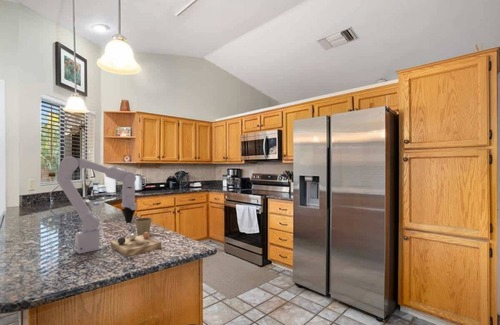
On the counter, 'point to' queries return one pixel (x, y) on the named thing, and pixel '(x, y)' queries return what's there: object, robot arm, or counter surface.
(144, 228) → the flower pot
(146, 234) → the terracotta ball
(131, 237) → the steel ball
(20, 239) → the counter surface
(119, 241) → the black rubber ball
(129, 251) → the board
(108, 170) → the robot arm
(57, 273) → the counter surface
